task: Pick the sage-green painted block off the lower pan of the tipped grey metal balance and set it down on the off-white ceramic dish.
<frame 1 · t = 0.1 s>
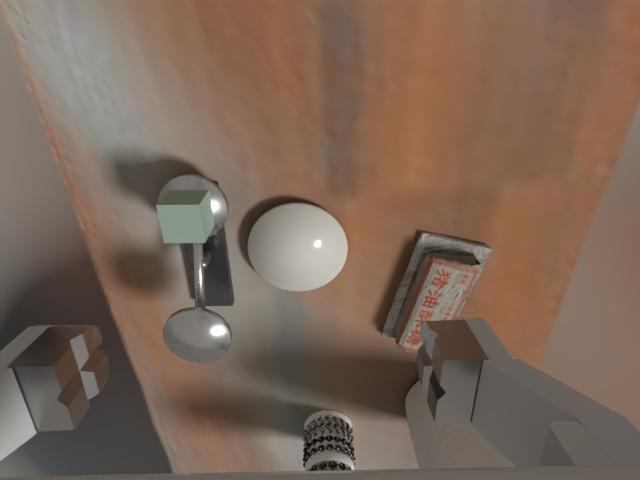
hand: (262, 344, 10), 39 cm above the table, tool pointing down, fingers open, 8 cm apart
packaged product: (430, 288, 58), on the table
vase: (444, 395, 68), on the table
dish: (298, 244, 53), on the table
balance: (208, 246, 53), on the table
block: (192, 208, 47), point 4 cm above the table, touching balance
decorative candle: (327, 424, 71), on the table
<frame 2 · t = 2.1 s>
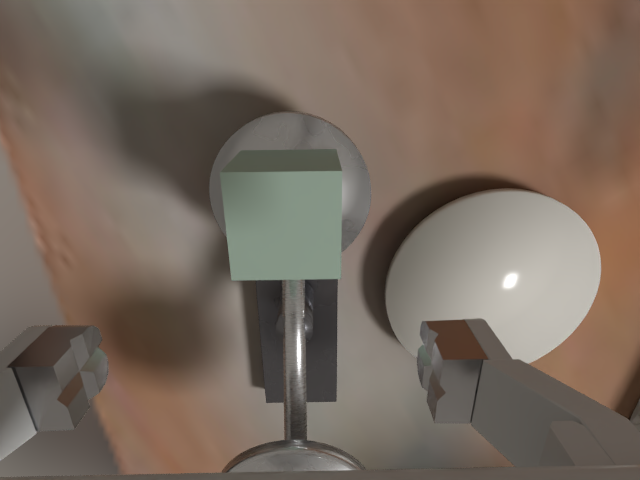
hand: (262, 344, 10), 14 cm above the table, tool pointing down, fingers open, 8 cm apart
dish: (482, 281, 26), on the table
balance: (297, 283, 26), on the table
block: (290, 195, 20), point 4 cm above the table, touching balance
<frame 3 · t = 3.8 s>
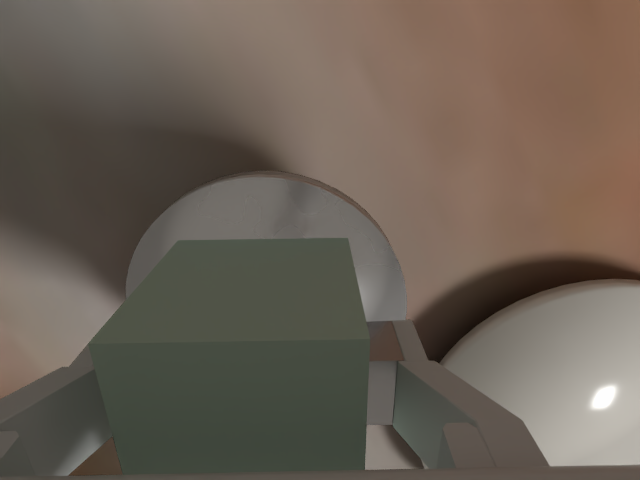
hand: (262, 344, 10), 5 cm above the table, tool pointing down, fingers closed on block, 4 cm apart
dish: (559, 400, 17), on the table
balance: (285, 405, 17), on the table
block: (268, 312, 11), point 4 cm above the table, touching balance, gripper
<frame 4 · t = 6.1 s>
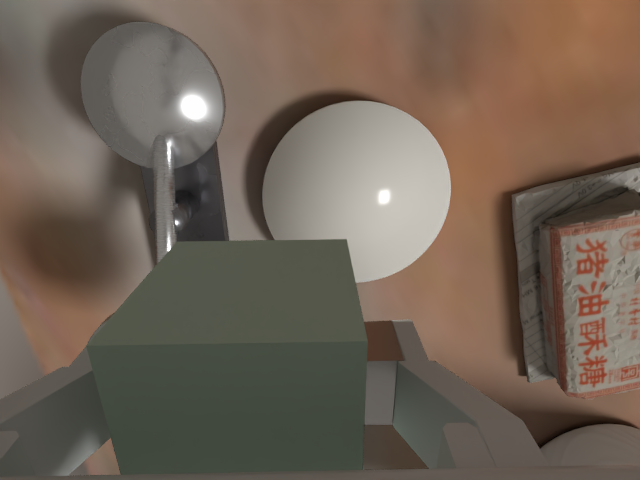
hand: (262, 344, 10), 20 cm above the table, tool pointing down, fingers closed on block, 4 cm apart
packaged product: (575, 277, 33), on the table
vase: (584, 466, 41), on the table
dish: (354, 194, 29), on the table
balance: (189, 199, 29), on the table
block: (266, 313, 11), point 18 cm above the table, touching gripper
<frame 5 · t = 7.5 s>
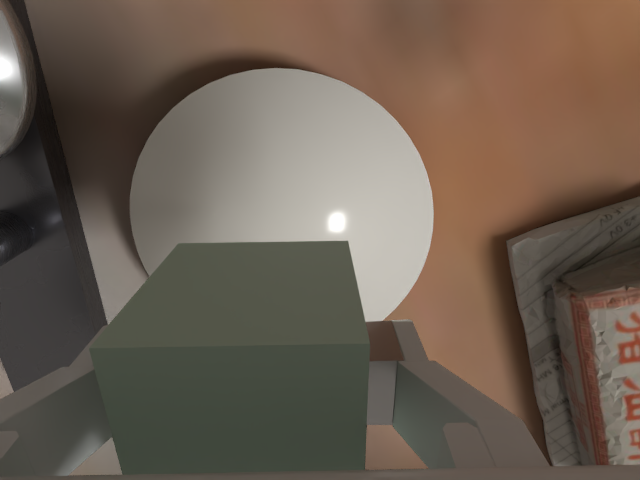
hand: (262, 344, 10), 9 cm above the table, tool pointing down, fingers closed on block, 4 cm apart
packaged product: (612, 342, 22), on the table
dish: (285, 219, 19), on the table
balance: (27, 223, 18), on the table
block: (268, 314, 11), point 8 cm above the table, touching gripper
when the fingers open (4 cm above the table, at t = 8.7 s): block drops 1 cm, resting on dish.
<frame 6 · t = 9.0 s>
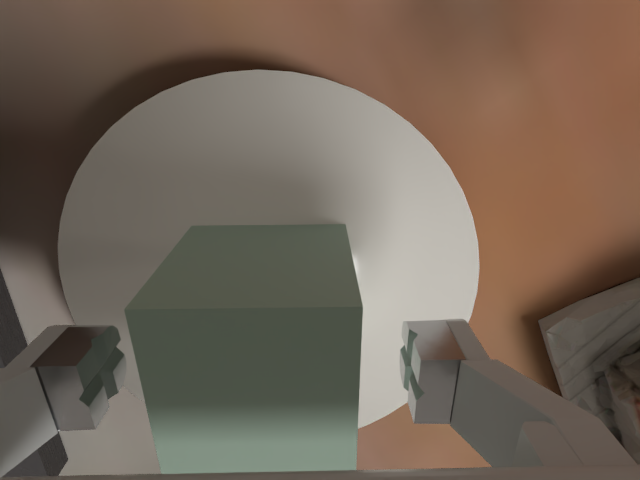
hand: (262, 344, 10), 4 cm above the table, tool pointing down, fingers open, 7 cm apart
dish: (276, 271, 14), on the table
block: (272, 291, 13), point 1 cm above the table, touching dish
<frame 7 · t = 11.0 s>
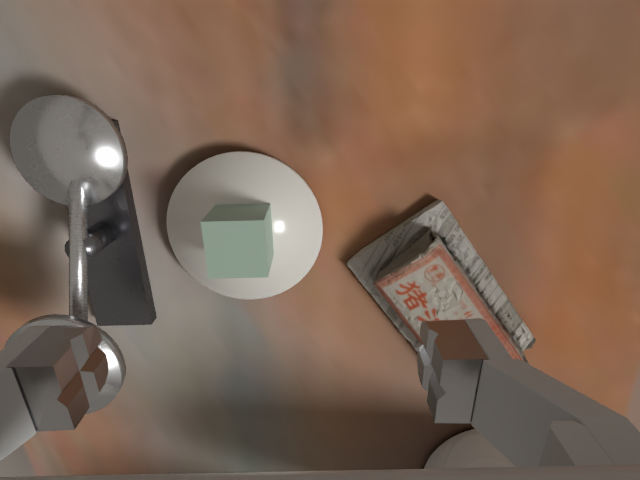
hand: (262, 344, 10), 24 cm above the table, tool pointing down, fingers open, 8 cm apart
packaged product: (441, 297, 38), on the table
vase: (480, 467, 46), on the table
dish: (247, 225, 35), on the table
balance: (110, 228, 35), on the table
block: (245, 230, 33), point 1 cm above the table, touching dish
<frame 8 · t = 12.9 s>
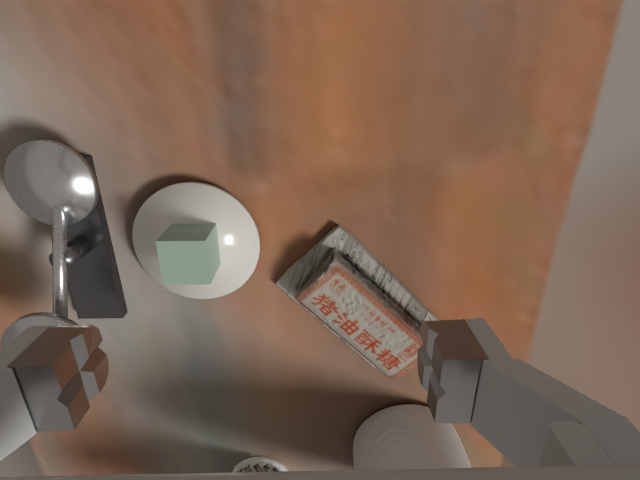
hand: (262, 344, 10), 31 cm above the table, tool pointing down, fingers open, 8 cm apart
packaged product: (360, 299, 47), on the table
vase: (403, 437, 55), on the table
dish: (200, 239, 43), on the table
balance: (87, 240, 42), on the table
block: (196, 244, 41), point 1 cm above the table, touching dish
decorative candle: (260, 475, 57), on the table
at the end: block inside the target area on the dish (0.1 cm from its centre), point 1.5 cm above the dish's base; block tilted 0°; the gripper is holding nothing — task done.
